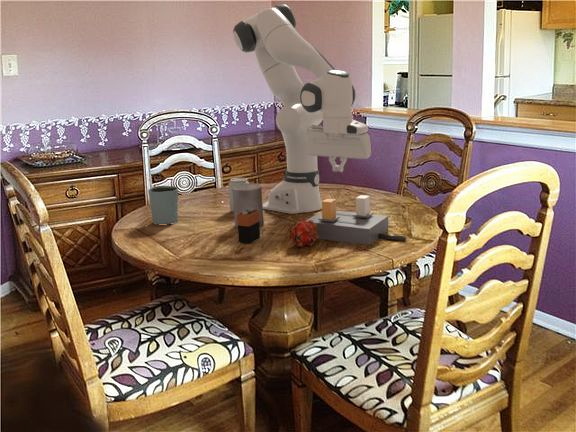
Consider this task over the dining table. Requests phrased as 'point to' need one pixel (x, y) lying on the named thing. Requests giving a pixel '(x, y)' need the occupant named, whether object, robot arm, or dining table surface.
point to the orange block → (329, 210)
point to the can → (233, 182)
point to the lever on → (363, 207)
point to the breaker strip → (354, 228)
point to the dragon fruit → (304, 233)
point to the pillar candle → (248, 199)
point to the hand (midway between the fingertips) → (337, 171)
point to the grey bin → (164, 204)
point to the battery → (248, 226)
